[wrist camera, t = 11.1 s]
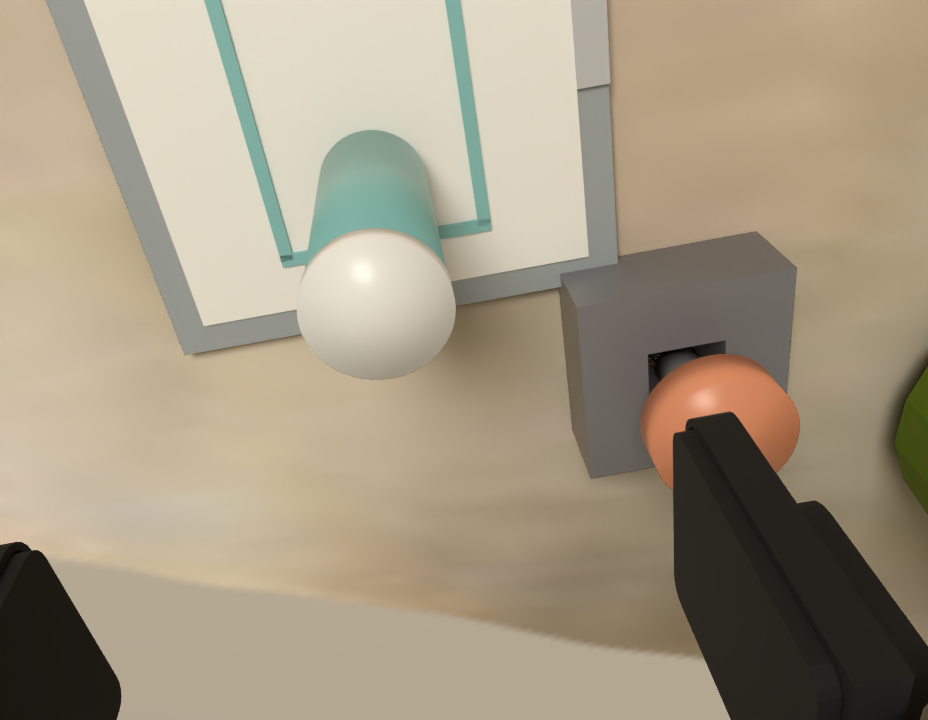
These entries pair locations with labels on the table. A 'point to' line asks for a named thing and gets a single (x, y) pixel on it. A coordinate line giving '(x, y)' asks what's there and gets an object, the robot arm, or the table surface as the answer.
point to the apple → (915, 441)
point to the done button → (716, 404)
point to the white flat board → (336, 116)
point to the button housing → (666, 331)
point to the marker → (375, 262)
